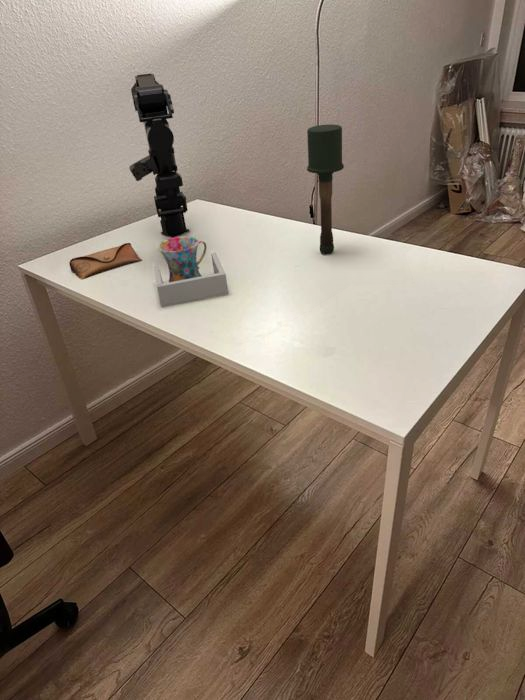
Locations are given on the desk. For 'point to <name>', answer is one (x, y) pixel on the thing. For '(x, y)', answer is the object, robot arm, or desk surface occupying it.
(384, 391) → the desk surface
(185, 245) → the mug
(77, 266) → the sunglasses case
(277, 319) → the desk surface
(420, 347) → the desk surface
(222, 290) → the grey open tray
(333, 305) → the desk surface
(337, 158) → the stick grenade
